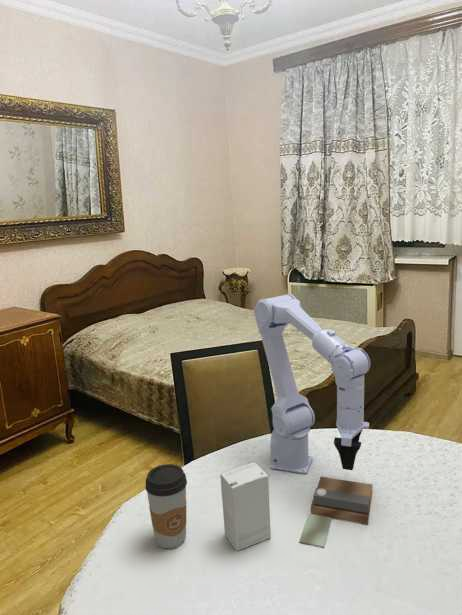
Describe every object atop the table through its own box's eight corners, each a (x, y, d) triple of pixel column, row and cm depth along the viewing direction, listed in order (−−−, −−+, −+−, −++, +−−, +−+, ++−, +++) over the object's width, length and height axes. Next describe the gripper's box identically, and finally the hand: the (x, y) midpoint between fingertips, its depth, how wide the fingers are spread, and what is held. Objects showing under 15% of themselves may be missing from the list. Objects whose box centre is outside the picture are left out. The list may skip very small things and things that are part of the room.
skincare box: (257, 522, 105) (255, 460, 102) (272, 539, 100) (270, 474, 97) (222, 535, 102) (218, 471, 98) (235, 553, 96) (232, 486, 93)
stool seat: (299, 542, 99) (299, 534, 98) (318, 483, 118) (318, 476, 118) (363, 555, 94) (363, 546, 94) (372, 492, 114) (372, 484, 113)
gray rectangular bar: (313, 503, 107) (313, 493, 106) (316, 495, 110) (315, 486, 109) (368, 513, 103) (368, 503, 102) (369, 504, 106) (369, 494, 105)
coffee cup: (158, 559, 96) (152, 490, 93) (145, 534, 103) (138, 470, 100) (197, 543, 100) (192, 477, 96) (182, 521, 107) (177, 458, 104)
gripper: (366, 420, 99) (365, 480, 102) (371, 392, 113) (370, 446, 116) (331, 416, 102) (331, 475, 105) (340, 389, 115) (340, 442, 118)
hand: (349, 459), depth 110 cm, fingers open, 7 cm apart
